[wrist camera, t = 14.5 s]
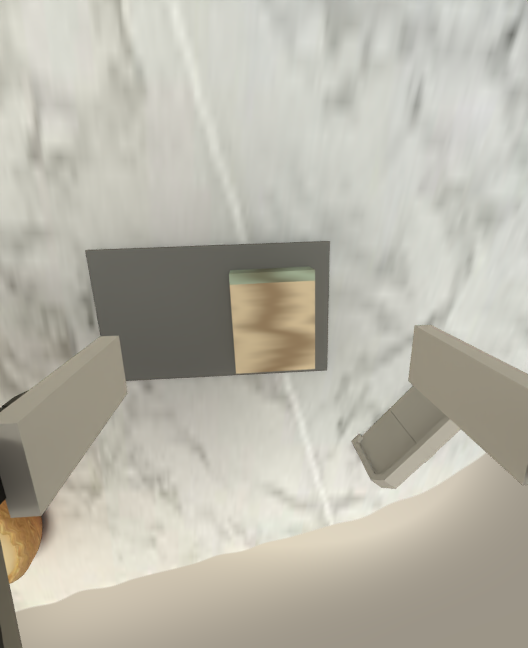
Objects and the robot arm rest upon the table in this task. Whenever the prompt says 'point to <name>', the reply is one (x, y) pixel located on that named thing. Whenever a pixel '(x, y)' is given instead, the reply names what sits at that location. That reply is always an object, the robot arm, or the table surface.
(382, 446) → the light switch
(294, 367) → the tan and green block
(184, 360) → the mat
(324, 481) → the table surface
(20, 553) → the pastry
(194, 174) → the table surface
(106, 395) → the robot arm
